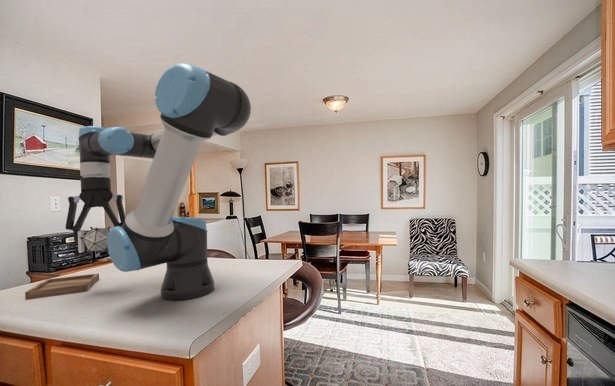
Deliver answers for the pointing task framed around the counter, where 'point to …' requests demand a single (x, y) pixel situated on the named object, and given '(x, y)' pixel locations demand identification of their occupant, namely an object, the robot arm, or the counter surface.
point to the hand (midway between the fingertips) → (98, 250)
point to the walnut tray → (62, 286)
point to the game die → (96, 239)
